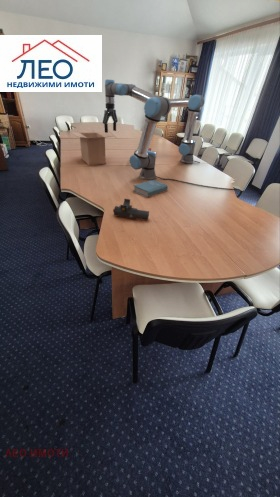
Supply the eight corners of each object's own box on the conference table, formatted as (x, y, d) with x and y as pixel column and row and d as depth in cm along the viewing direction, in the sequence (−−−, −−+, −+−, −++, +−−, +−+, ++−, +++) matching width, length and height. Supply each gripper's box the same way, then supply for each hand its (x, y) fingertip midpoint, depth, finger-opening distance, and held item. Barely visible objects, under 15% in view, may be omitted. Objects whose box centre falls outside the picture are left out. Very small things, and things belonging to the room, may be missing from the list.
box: (116, 165, 229) (116, 136, 213) (83, 168, 214) (80, 137, 198) (102, 154, 259) (101, 128, 243) (71, 156, 244) (68, 129, 228)
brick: (144, 155, 269) (145, 147, 263) (150, 156, 266) (151, 148, 260) (141, 156, 264) (142, 148, 258) (148, 158, 261) (148, 149, 255)
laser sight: (146, 223, 136) (147, 209, 130) (111, 218, 139) (111, 203, 133) (149, 216, 144) (150, 202, 138) (115, 211, 147) (115, 197, 141)
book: (152, 185, 190) (153, 179, 187) (167, 191, 181) (167, 185, 178) (133, 191, 176) (133, 185, 173) (147, 198, 167) (148, 191, 164)
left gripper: (114, 102, 193) (114, 129, 205) (97, 102, 174) (98, 132, 187) (121, 103, 190) (121, 130, 203) (105, 103, 172) (106, 134, 184)
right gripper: (151, 112, 249) (149, 133, 261) (141, 114, 230) (140, 136, 243) (157, 113, 246) (155, 134, 259) (147, 114, 228) (146, 137, 241)
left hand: (110, 131), depth 195 cm, fingers open, 13 cm apart
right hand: (147, 135), depth 251 cm, fingers open, 13 cm apart
